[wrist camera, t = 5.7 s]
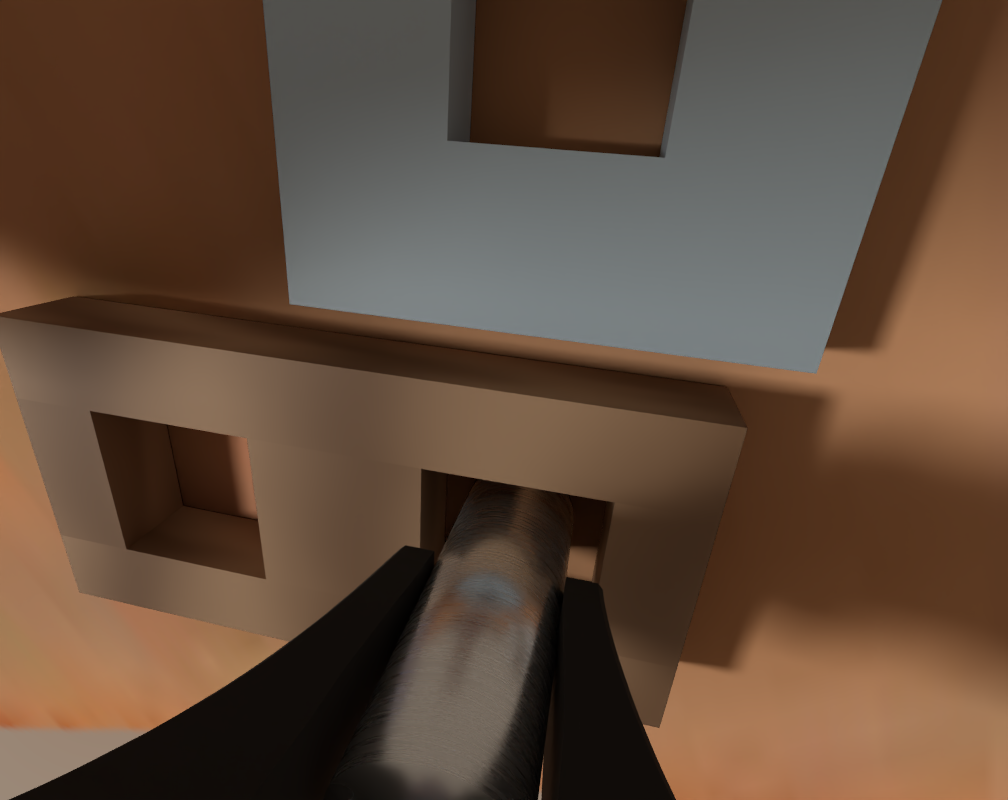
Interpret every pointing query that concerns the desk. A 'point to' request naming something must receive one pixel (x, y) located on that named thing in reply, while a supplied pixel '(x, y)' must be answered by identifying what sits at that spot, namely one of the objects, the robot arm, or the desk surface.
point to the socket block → (592, 178)
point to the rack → (356, 464)
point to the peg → (471, 661)
